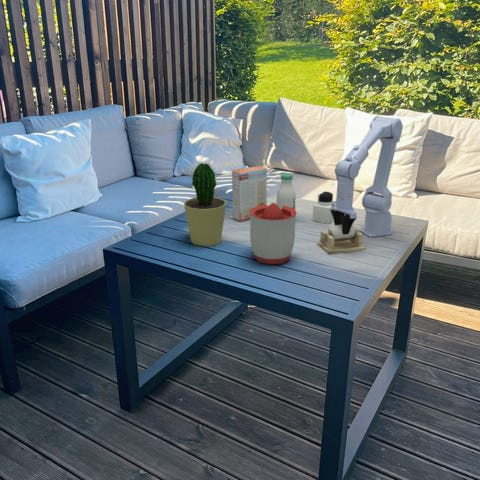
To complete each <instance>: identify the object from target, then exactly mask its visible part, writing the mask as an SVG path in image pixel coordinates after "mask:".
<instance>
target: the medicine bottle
mask: <svg viewBox="0 0 480 480" xmlns="http://www.w3.org/2000/svg"><path fill="white" fill-rule="evenodd" d="M333 197H334V194H333V193H332V192H330V191H319V192H318V193H317V201H316V203H314V204H313V206H312V222H316V223H318V224H319V223H320V224H325V225H329V224H331V223H332V222H334V219H333V216H332V213H331V210H332V209H333V207H332V201H334V200H333Z"/></svg>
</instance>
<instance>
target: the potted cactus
mask: <svg viewBox="0 0 480 480" xmlns="http://www.w3.org/2000/svg"><path fill="white" fill-rule="evenodd" d="M212 167H213V166H212V165H211V162H210V163H207V162H205V163H202V162H199V163H198V164H197V165H196V166H195V168H193V171H192V175H191V187H193V189H194V192H195V194H194V195H193V196H194V197H193V198H189V199H187V200H185V201H184V202H183V205H184V211H185V212H184V213H185V216H186V222H187V226H188V232H189V237H190V241H191V243H192V244H193V245H196V246H200V247H210V246H215V245H218V244H220V243H221V241H222V236H223V229H224V222H225V221H224V220H225V215H226V208H227V207H226V206H227V201H226V200H225V199H223V198H221V197H216V196H214V195H216V188H217V182H219V181H218V180H216V174H217V173H216V171H215V170H214V167H213V168H212Z"/></svg>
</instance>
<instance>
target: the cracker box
mask: <svg viewBox="0 0 480 480" xmlns="http://www.w3.org/2000/svg"><path fill="white" fill-rule="evenodd" d="M231 181H232V183H231V185H232V188H231V189H232V191H231V192H232V218H233V219H234V220H236V221H238V222H245V221H250V210H251V209H252V208H254V207H256V206H261V205H267V206H268V203H267V201H268V193H267V192H268V188H267V187H268V168H266V167H265V166H262V165H256V166H250V167H249V166H248V167H245V168H239V169H233V170H231Z"/></svg>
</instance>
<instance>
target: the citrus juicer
mask: <svg viewBox="0 0 480 480" xmlns="http://www.w3.org/2000/svg"><path fill="white" fill-rule="evenodd" d="M296 215H297V211H296V209H295V210H294V209H293V208H291V207H288V206H283V207H282V208H281V209H280V208H279V207H278V206H277V205H276V202H272V203H270V204H269V205H268V204H267V205H261V206H256V207H254V208H252V209H251V210H250V219H249V221H250V222H249V224H250V227H249V228H250V229H249V236H250V237H249V239H250V246H251V249H252V254H253V256H254V257H255V259H256V261H258V262H259V263H263V264H266V265H267V264H269V265H277V264H280V265H281V264H283V263H285V262H287V261H288V260H289V258H290V256H291V255H292V251H293V248H294V244H295V239H296V238H295V237H296V236H295V235H296Z"/></svg>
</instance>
